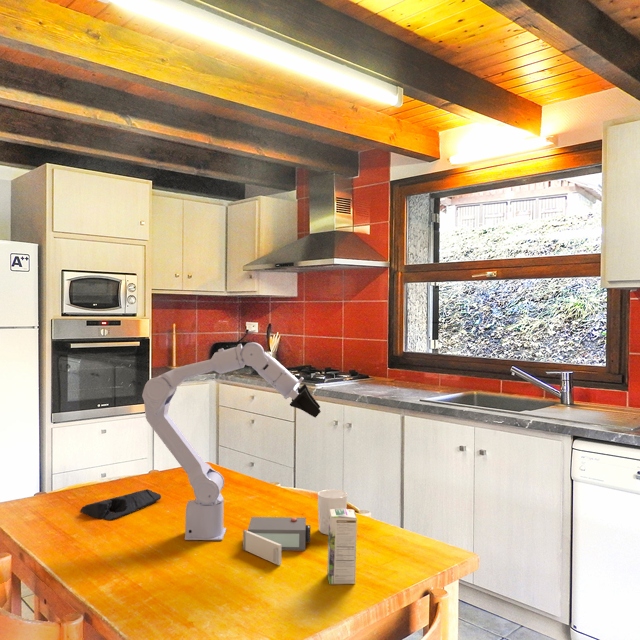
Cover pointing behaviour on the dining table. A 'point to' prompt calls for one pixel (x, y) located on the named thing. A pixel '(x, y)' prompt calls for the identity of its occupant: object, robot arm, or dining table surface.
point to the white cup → (329, 506)
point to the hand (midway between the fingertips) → (317, 412)
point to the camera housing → (282, 531)
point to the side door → (262, 547)
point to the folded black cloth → (120, 505)
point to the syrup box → (342, 546)
